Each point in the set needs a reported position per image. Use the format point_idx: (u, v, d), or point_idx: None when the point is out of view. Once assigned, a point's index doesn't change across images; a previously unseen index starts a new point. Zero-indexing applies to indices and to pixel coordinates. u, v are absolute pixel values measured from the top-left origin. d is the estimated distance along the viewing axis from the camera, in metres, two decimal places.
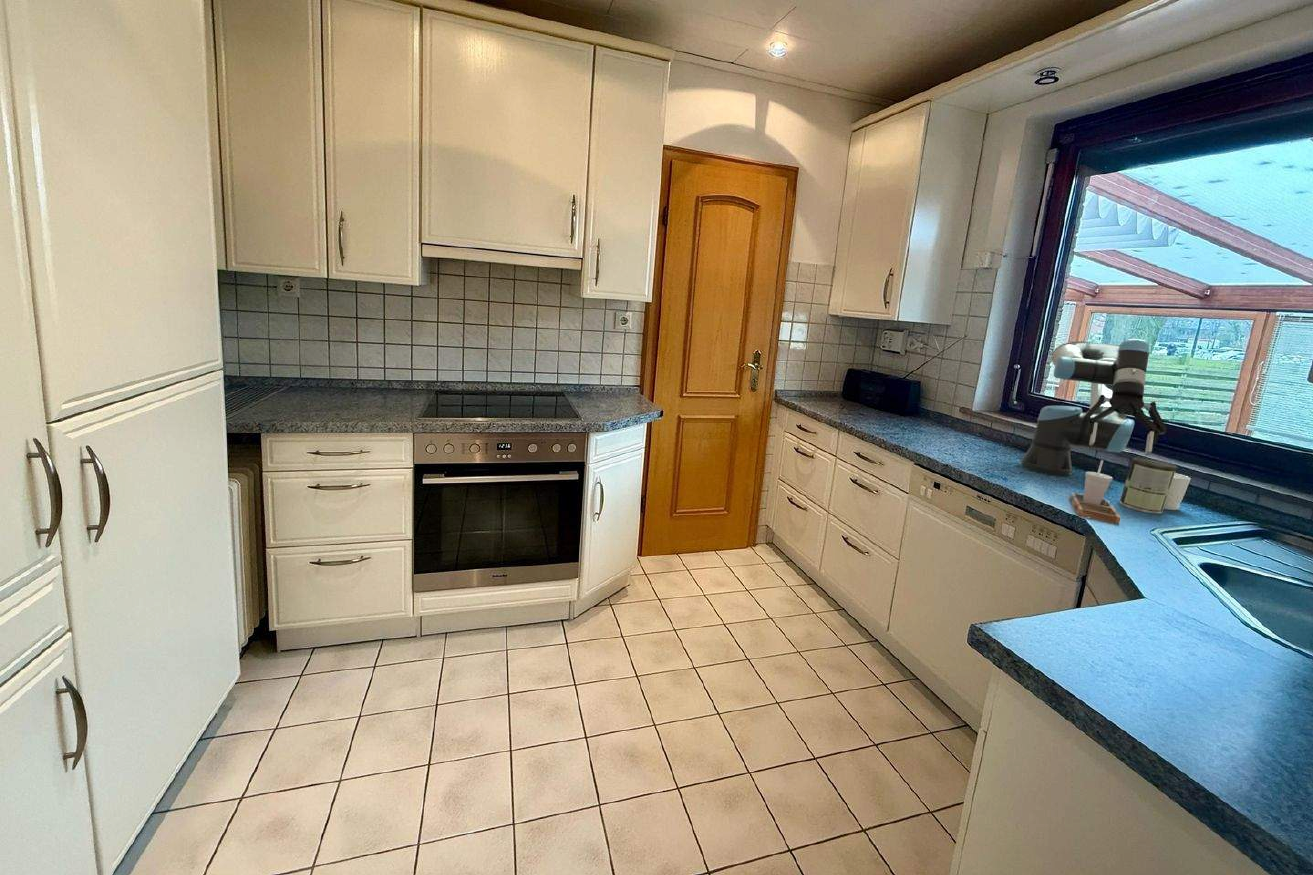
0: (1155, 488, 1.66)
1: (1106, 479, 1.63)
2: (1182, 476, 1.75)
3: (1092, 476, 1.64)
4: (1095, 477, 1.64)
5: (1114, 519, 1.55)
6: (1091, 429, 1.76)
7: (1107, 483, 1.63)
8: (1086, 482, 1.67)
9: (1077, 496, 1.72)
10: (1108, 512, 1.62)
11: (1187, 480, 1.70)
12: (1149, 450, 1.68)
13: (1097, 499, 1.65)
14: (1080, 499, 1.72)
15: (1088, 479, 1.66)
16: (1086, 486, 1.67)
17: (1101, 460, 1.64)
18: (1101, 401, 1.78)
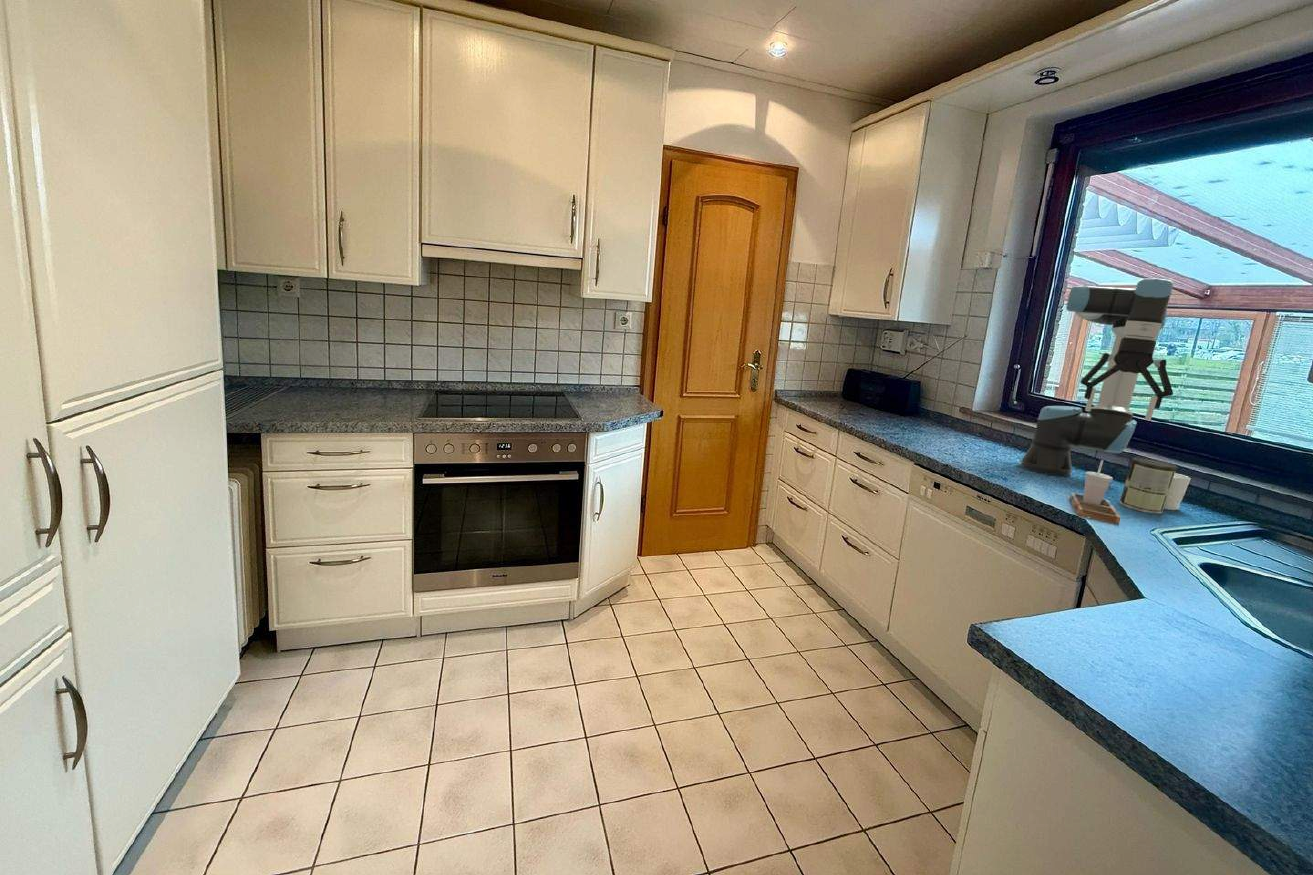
0: (1155, 488, 1.66)
1: (1106, 479, 1.63)
2: (1182, 476, 1.75)
3: (1092, 476, 1.64)
4: (1095, 477, 1.64)
5: (1114, 519, 1.55)
6: (1088, 395, 1.63)
7: (1107, 483, 1.63)
8: (1086, 482, 1.67)
9: (1077, 496, 1.72)
10: (1108, 512, 1.62)
11: (1187, 480, 1.70)
12: (1148, 419, 1.57)
13: (1097, 499, 1.65)
14: (1080, 499, 1.72)
15: (1088, 479, 1.66)
16: (1086, 486, 1.67)
17: (1101, 460, 1.64)
18: (1104, 362, 1.60)
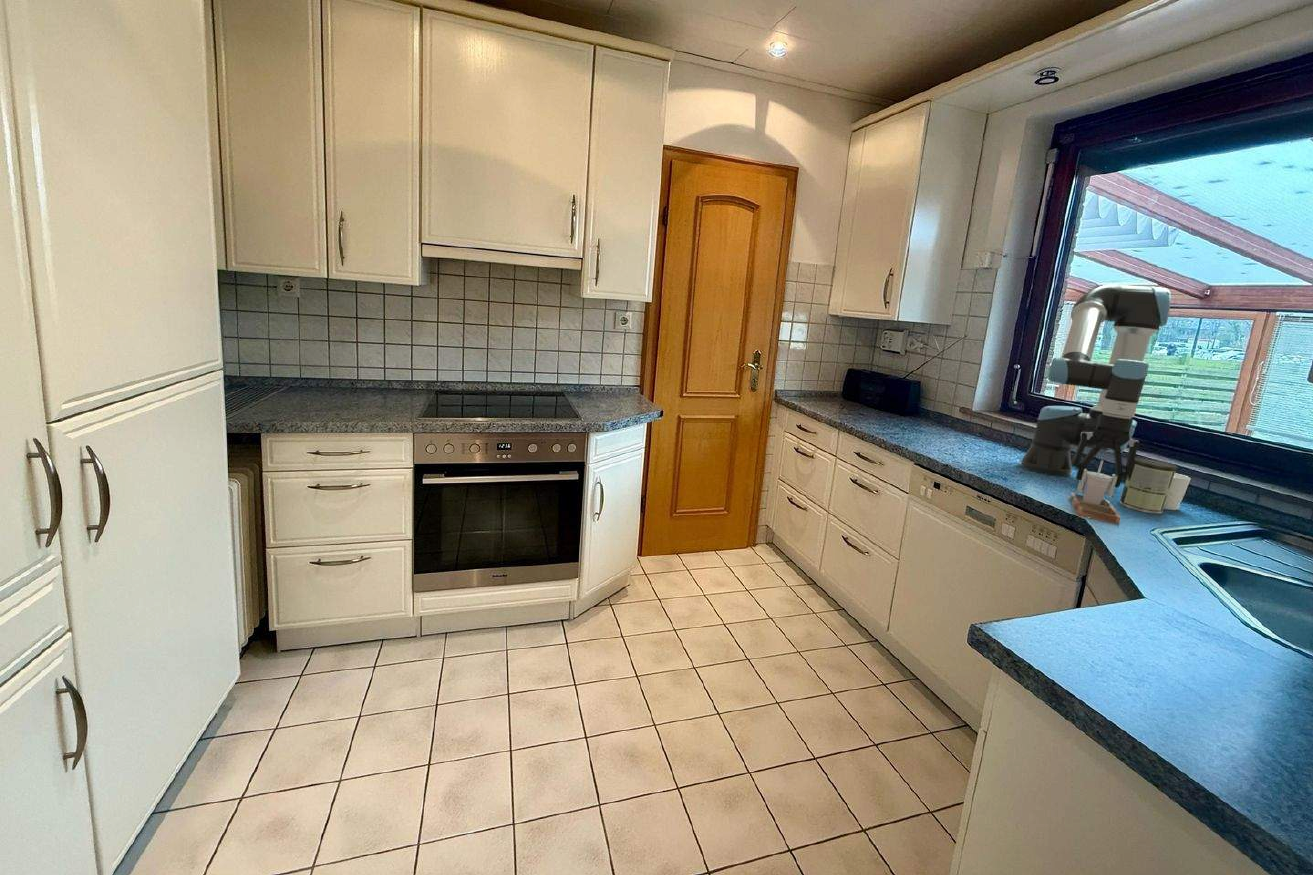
0: (1155, 488, 1.66)
1: (1106, 479, 1.63)
2: (1182, 476, 1.75)
3: (1092, 476, 1.64)
4: (1095, 477, 1.64)
5: (1114, 519, 1.55)
6: (1080, 476, 1.67)
7: (1107, 483, 1.63)
8: (1086, 482, 1.67)
9: (1077, 496, 1.72)
10: (1108, 512, 1.62)
11: (1187, 480, 1.70)
12: (1109, 497, 1.64)
13: (1097, 499, 1.65)
14: (1080, 499, 1.72)
15: (1088, 479, 1.66)
16: (1086, 486, 1.67)
17: (1101, 460, 1.64)
18: (1085, 441, 1.65)
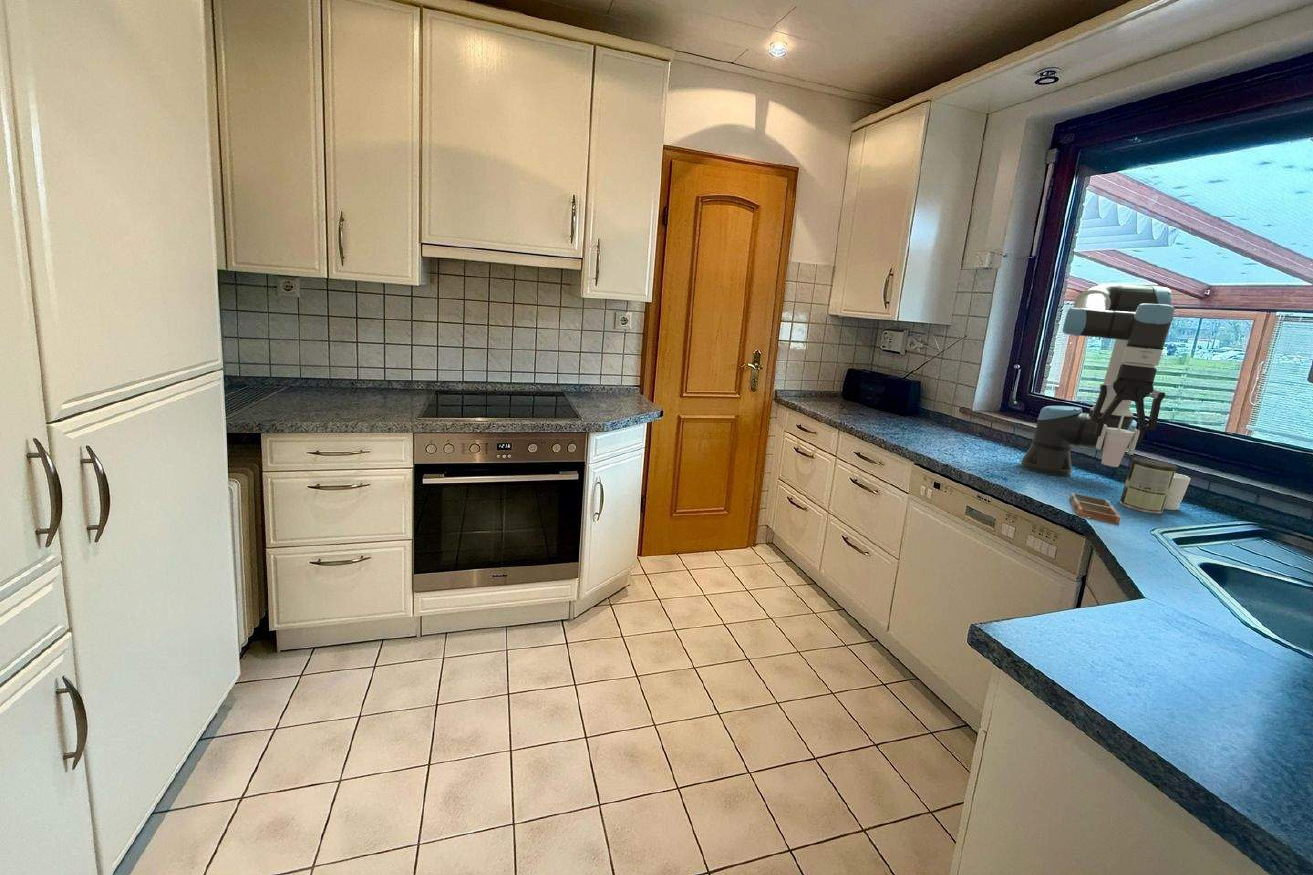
0: (1155, 488, 1.66)
1: (1128, 434, 1.52)
2: (1182, 476, 1.75)
3: (1112, 431, 1.53)
4: (1116, 432, 1.53)
5: (1114, 519, 1.55)
6: (1099, 432, 1.56)
7: (1129, 438, 1.52)
8: (1106, 438, 1.56)
9: (1077, 496, 1.72)
10: (1108, 512, 1.62)
11: (1187, 480, 1.70)
12: (1130, 453, 1.53)
13: (1118, 455, 1.54)
14: (1080, 499, 1.72)
15: (1108, 435, 1.55)
16: (1106, 442, 1.56)
17: (1122, 414, 1.53)
18: (1104, 393, 1.54)
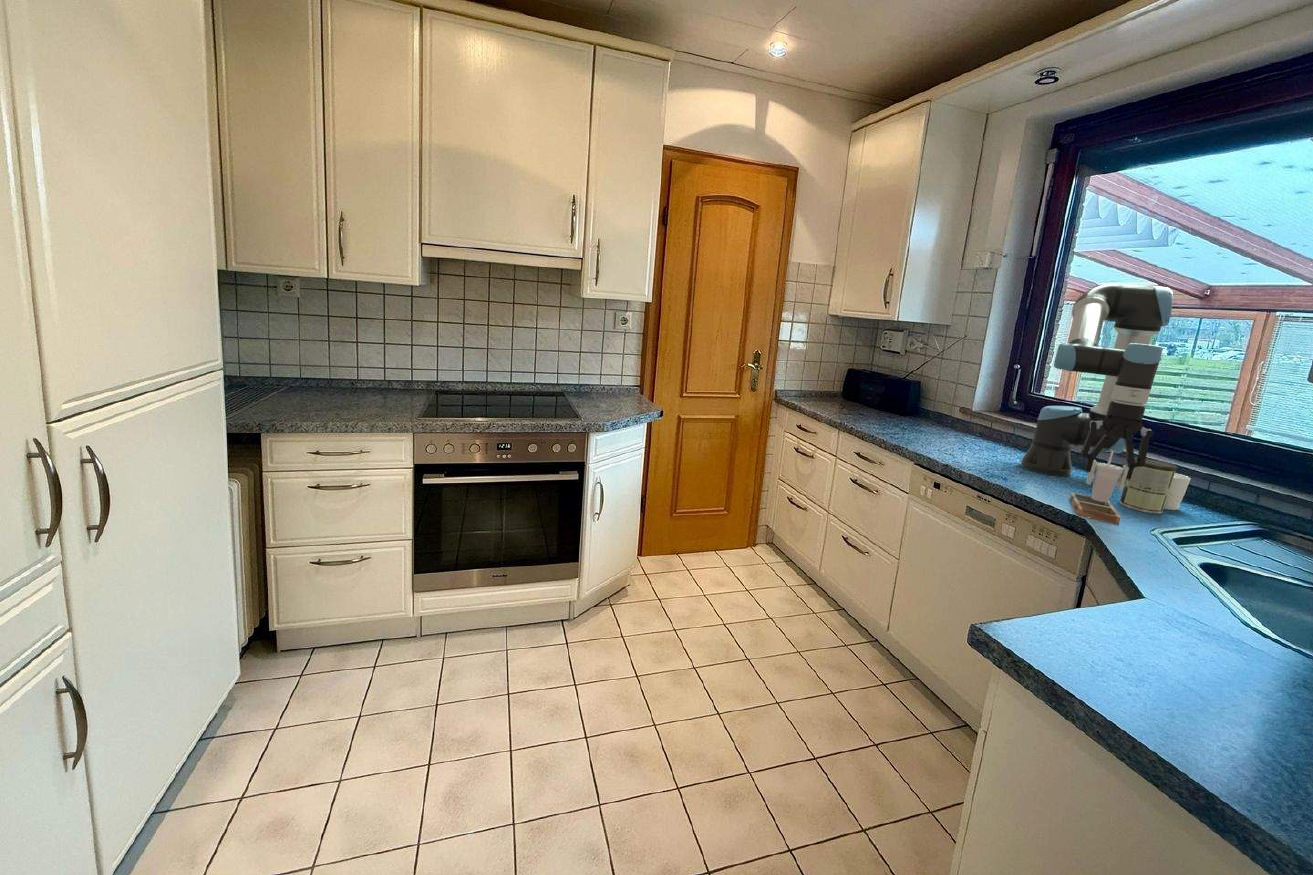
0: (1155, 488, 1.66)
1: (1117, 470, 1.54)
2: (1182, 476, 1.75)
3: (1102, 467, 1.56)
4: (1105, 468, 1.55)
5: (1114, 519, 1.55)
6: (1089, 468, 1.59)
7: (1118, 474, 1.55)
8: (1096, 474, 1.58)
9: (1077, 496, 1.72)
10: (1108, 512, 1.62)
11: (1187, 480, 1.70)
12: (1120, 489, 1.55)
13: (1108, 491, 1.56)
14: (1080, 499, 1.72)
15: (1098, 470, 1.57)
16: (1096, 478, 1.58)
17: (1112, 450, 1.56)
18: (1094, 430, 1.56)
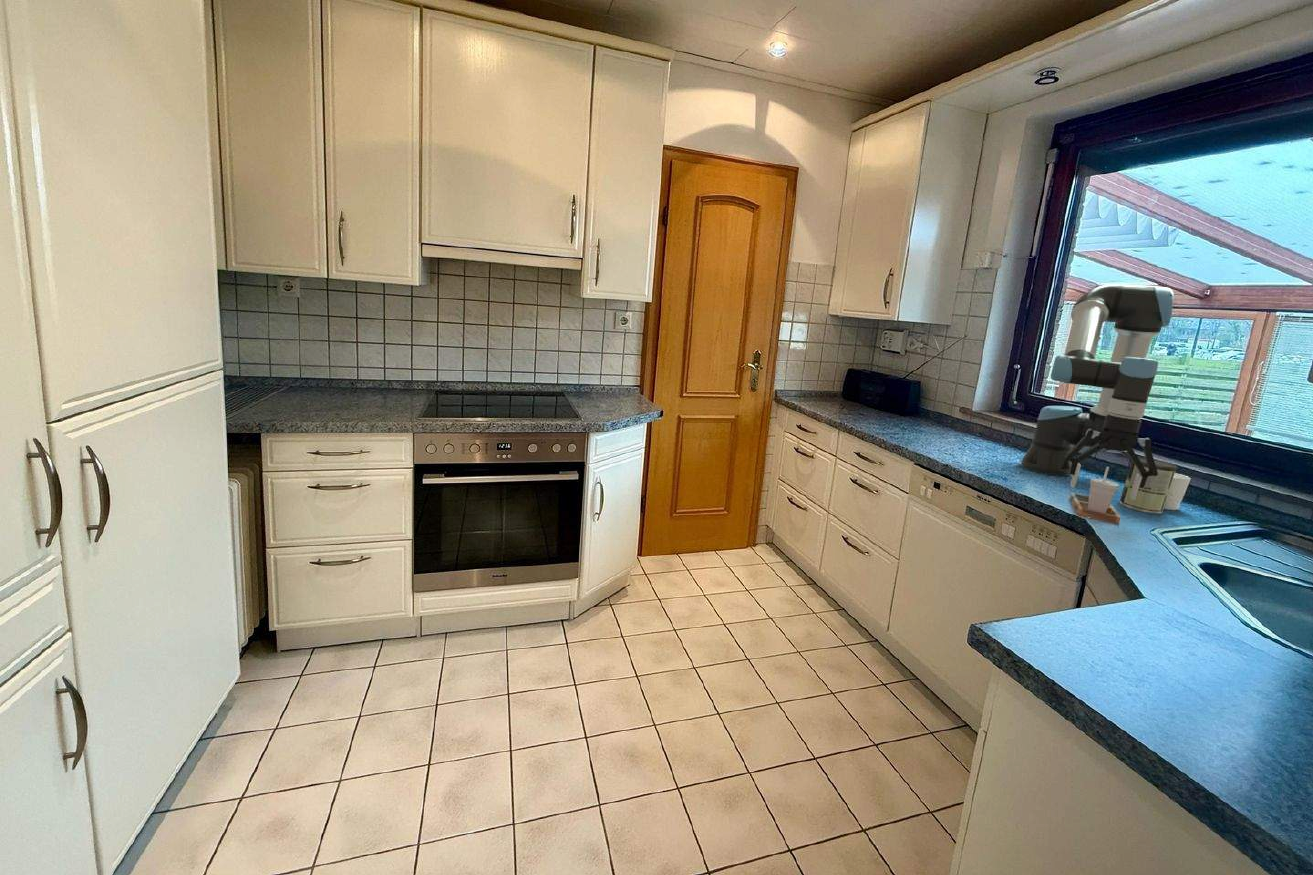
0: (1155, 488, 1.66)
1: (1112, 486, 1.55)
2: (1182, 476, 1.75)
3: (1097, 483, 1.57)
4: (1100, 484, 1.56)
5: (1114, 519, 1.55)
6: (1073, 471, 1.60)
7: (1113, 491, 1.56)
8: (1091, 489, 1.59)
9: (1077, 496, 1.72)
10: (1108, 512, 1.62)
11: (1187, 480, 1.70)
12: (1133, 498, 1.55)
13: (1103, 507, 1.57)
14: (1080, 499, 1.72)
15: (1093, 486, 1.58)
16: (1091, 494, 1.59)
17: None
18: (1088, 438, 1.57)
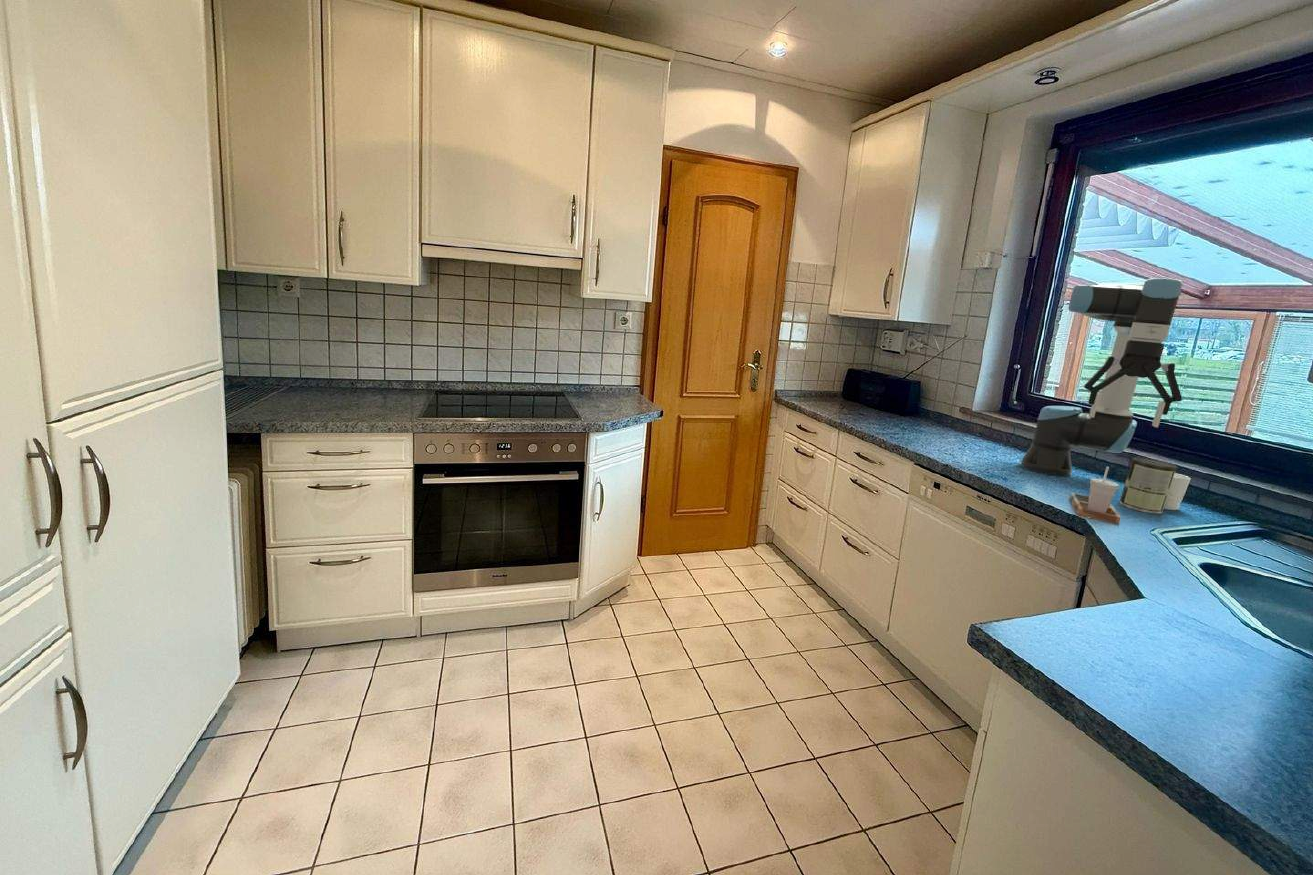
0: (1155, 488, 1.66)
1: (1112, 486, 1.55)
2: (1182, 476, 1.75)
3: (1097, 483, 1.57)
4: (1100, 484, 1.56)
5: (1114, 519, 1.55)
6: (1092, 401, 1.56)
7: (1113, 491, 1.56)
8: (1091, 489, 1.59)
9: (1077, 496, 1.72)
10: (1108, 512, 1.62)
11: (1187, 480, 1.70)
12: (1155, 425, 1.50)
13: (1103, 507, 1.57)
14: (1080, 499, 1.72)
15: (1093, 486, 1.58)
16: (1091, 494, 1.59)
17: None
18: (1109, 365, 1.53)
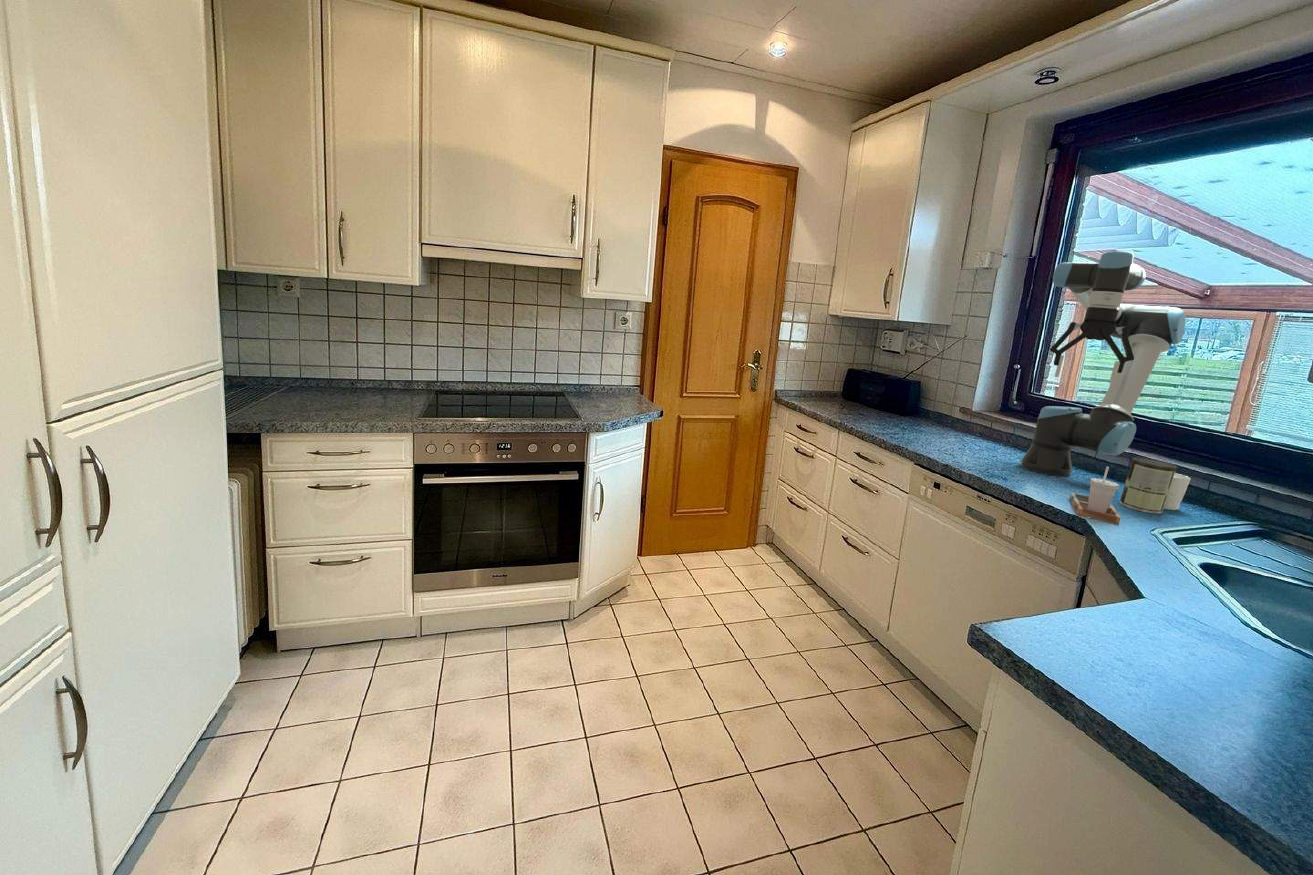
0: (1155, 488, 1.66)
1: (1112, 486, 1.55)
2: (1182, 476, 1.75)
3: (1097, 483, 1.57)
4: (1100, 484, 1.56)
5: (1114, 519, 1.55)
6: (1057, 362, 1.75)
7: (1113, 491, 1.56)
8: (1091, 489, 1.59)
9: (1077, 496, 1.72)
10: (1108, 512, 1.62)
11: (1187, 480, 1.70)
12: (1111, 383, 1.69)
13: (1103, 507, 1.57)
14: (1080, 499, 1.72)
15: (1093, 486, 1.58)
16: (1091, 494, 1.59)
17: None
18: (1071, 330, 1.72)
